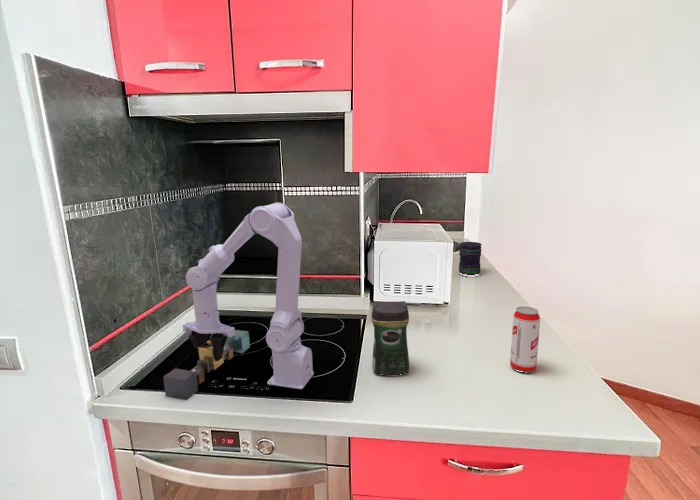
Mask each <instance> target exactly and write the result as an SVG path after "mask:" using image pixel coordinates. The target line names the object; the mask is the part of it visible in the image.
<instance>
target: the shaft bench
mask: <svg viewBox="0 0 700 500" xmlns="http://www.w3.org/2000/svg"><path fill="white" fill-rule="evenodd" d="M249 348H251V346H250V333H249V331H247V330H240V329H235V334H234V335H233V336H232V337H228V338H227V340H226V343H225V346H224V350H223V361H225V360H228V361H230V360H232V358H234V353H238V354H244V353H245V352H246V351H247V350H248V349H249ZM196 364H197V365H196V366H195V367H193V368H191V369H190V370H187V369H180V368H174V369H172V370H171V371H170V372H168V373H166V374H164V375H163V376H162V380H163V387H164V394H165V397H170V398H176V399H180V400H186V401H187V400H188V399H190V398H191V397H192V396H193V395H194V394H196V393H197V392H198V391H199V388H198V385H200V384H202V383H203V382H204V381H205V380H206V379H205V374H209V373H210V372H211V370H210V366H209V361H206V360H200V359H198V360H197V361H196Z"/></svg>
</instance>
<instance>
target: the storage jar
mask: <svg viewBox="0 0 700 500" xmlns="http://www.w3.org/2000/svg"><path fill="white" fill-rule="evenodd" d="M481 255H482V243H481V242H477V241H476V242H475V241H463V242H460V243H459V263H458V273H459V272H460V273H462V274H467V275H475V274H479V273H480V274H481Z"/></svg>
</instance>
